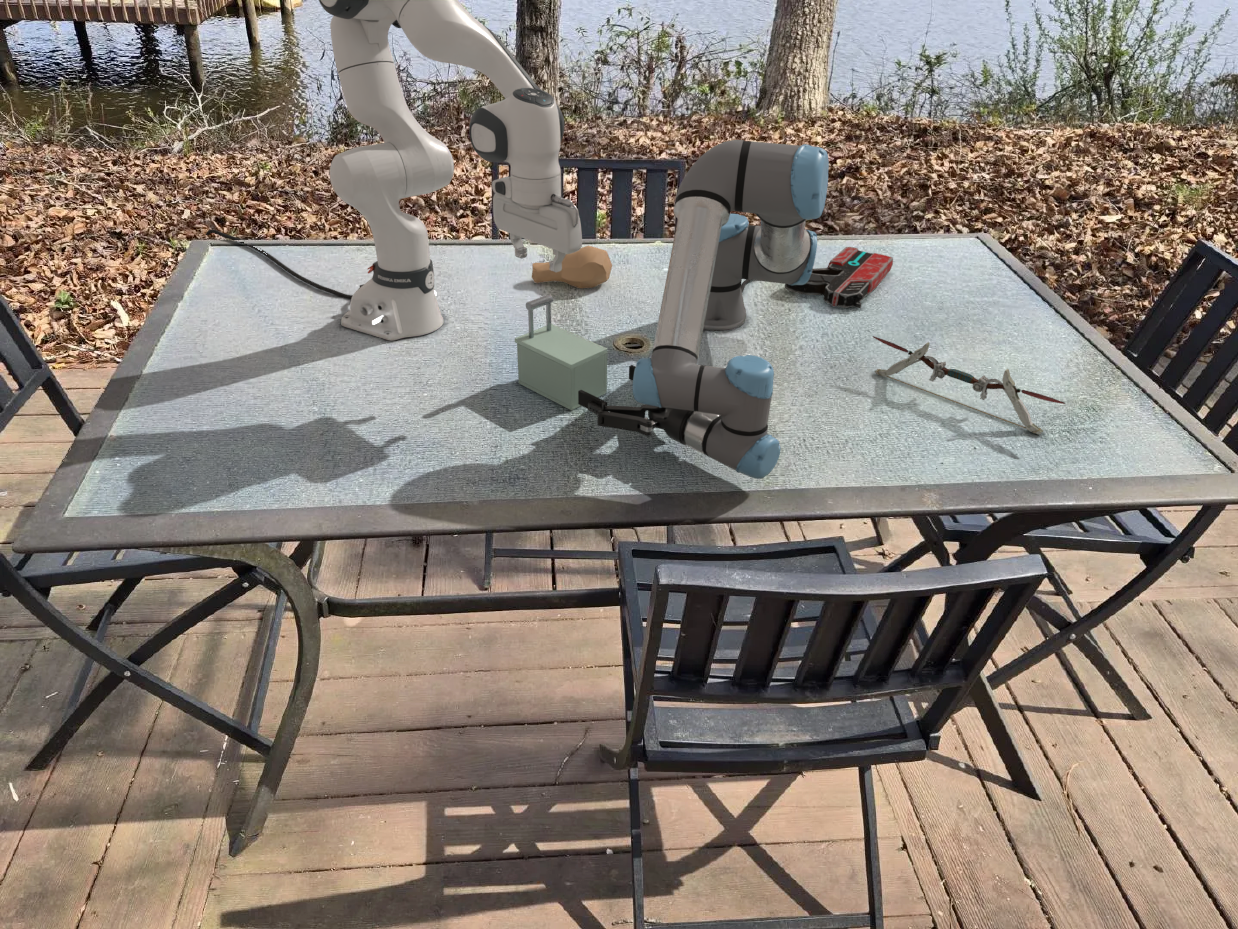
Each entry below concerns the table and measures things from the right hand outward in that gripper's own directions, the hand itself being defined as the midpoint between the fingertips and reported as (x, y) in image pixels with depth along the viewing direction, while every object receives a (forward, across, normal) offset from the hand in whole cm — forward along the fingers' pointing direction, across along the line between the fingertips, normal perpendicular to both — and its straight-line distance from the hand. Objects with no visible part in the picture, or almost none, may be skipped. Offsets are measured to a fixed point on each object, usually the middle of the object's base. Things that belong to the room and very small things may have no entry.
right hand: (605, 383), depth 162 cm
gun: (+2, +89, -6) cm, 89 cm away
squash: (+49, +40, -6) cm, 64 cm away
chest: (+12, +1, -6) cm, 14 cm away
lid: (+13, +1, +3) cm, 13 cm away
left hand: (+18, +1, +18) cm, 26 cm away
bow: (-46, +51, -6) cm, 69 cm away
